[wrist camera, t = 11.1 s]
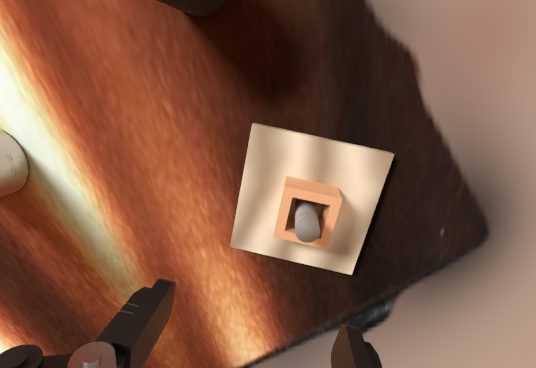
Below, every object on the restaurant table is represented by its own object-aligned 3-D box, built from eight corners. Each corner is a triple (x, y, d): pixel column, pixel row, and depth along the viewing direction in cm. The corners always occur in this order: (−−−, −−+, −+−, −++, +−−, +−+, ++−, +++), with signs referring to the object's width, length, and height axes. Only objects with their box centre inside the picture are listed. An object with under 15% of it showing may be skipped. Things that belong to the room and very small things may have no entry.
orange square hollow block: (276, 221, 34) (273, 237, 30) (286, 175, 32) (285, 186, 28) (323, 232, 34) (327, 249, 30) (337, 186, 32) (342, 198, 28)
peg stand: (232, 242, 37) (214, 280, 29) (253, 122, 32) (239, 130, 24) (349, 269, 36) (364, 316, 28) (390, 152, 31) (422, 170, 23)
